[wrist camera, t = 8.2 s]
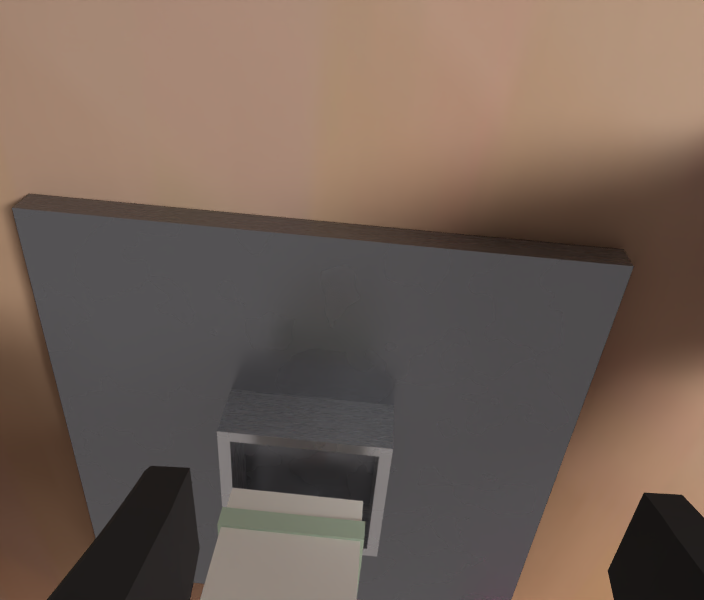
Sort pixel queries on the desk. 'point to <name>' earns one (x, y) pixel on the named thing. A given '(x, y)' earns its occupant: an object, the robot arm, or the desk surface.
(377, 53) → the desk surface
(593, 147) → the desk surface
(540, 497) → the stand
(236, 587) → the post
